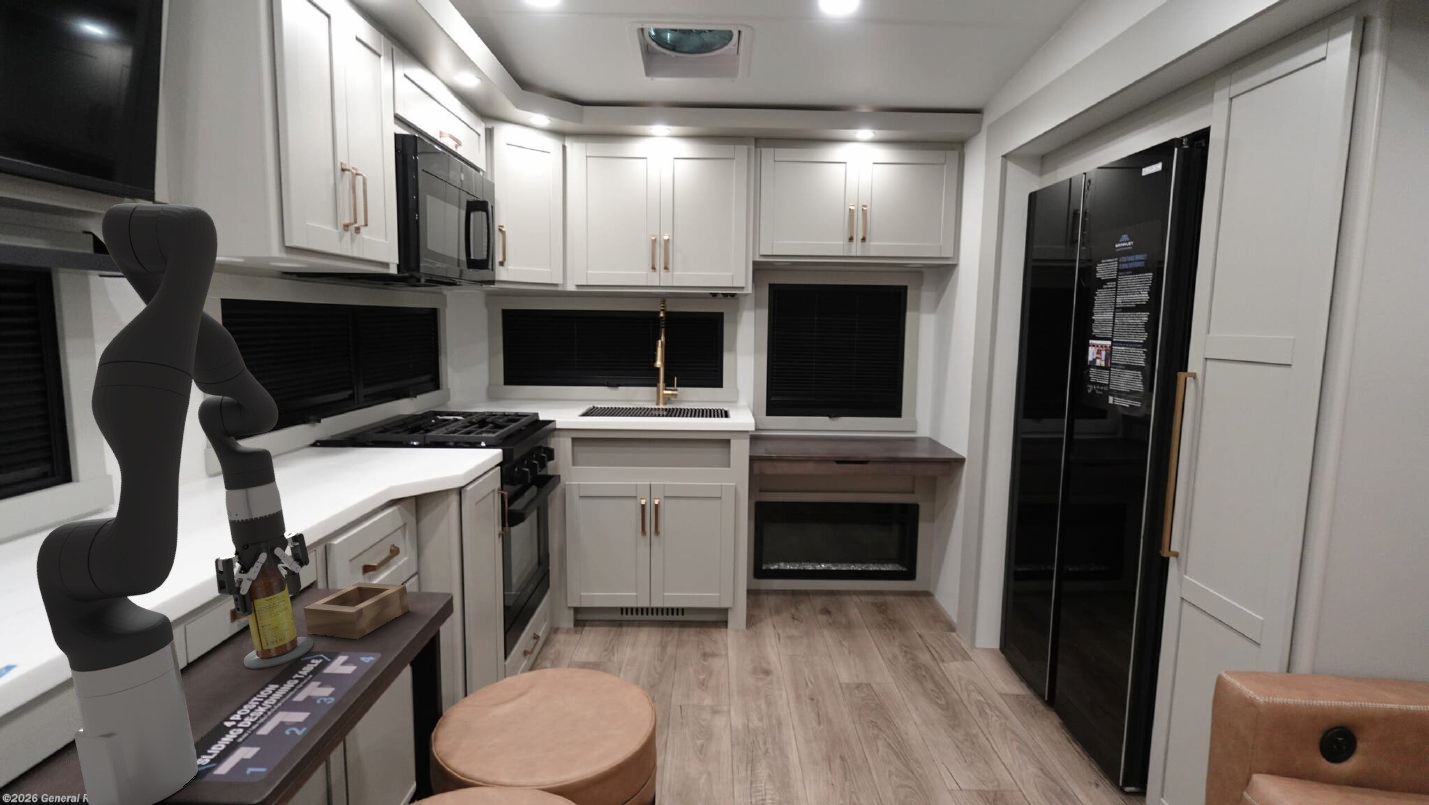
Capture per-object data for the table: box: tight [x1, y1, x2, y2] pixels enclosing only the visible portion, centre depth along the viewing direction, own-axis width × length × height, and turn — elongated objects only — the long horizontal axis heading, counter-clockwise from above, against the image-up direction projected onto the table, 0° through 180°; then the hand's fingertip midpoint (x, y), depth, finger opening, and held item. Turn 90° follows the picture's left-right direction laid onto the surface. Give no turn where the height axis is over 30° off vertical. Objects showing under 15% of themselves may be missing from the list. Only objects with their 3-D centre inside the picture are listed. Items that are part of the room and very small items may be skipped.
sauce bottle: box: [245, 541, 298, 658], centre depth 113 cm, size 6×6×20 cm
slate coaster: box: [243, 636, 314, 670], centre depth 115 cm, size 10×10×1 cm
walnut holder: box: [303, 582, 410, 640], centre depth 125 cm, size 12×12×5 cm
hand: (271, 604), depth 114 cm, fingers open, 8 cm apart
